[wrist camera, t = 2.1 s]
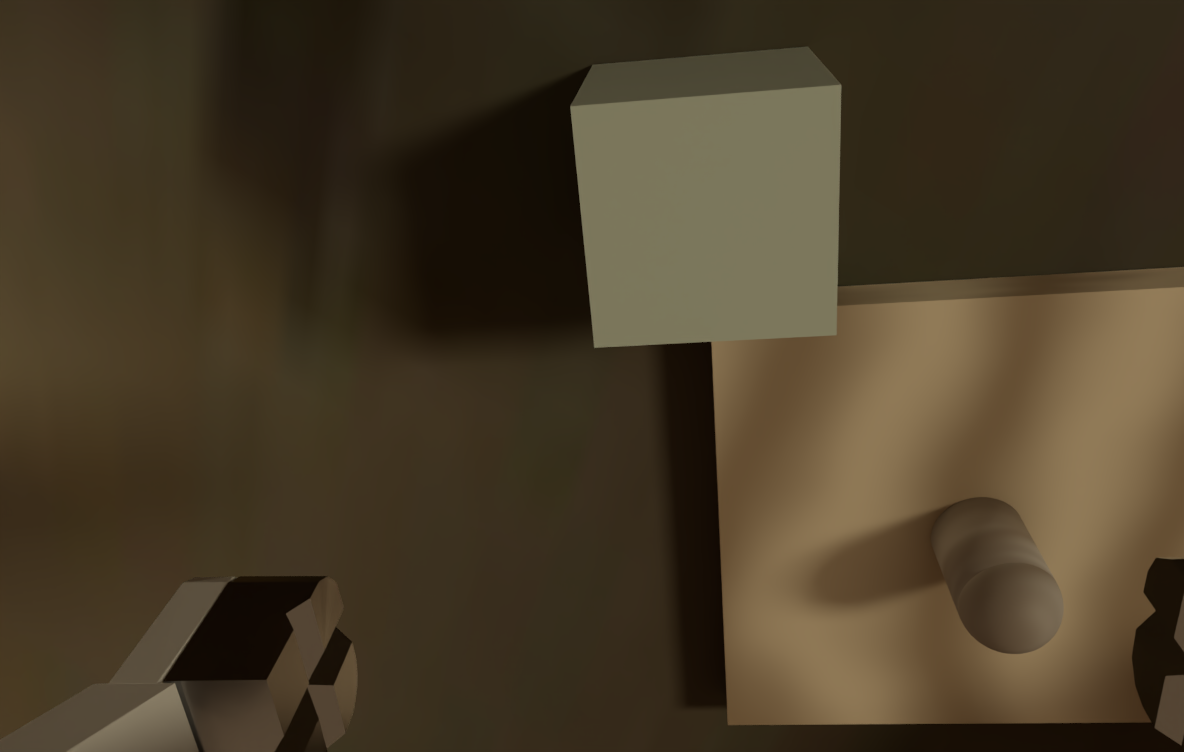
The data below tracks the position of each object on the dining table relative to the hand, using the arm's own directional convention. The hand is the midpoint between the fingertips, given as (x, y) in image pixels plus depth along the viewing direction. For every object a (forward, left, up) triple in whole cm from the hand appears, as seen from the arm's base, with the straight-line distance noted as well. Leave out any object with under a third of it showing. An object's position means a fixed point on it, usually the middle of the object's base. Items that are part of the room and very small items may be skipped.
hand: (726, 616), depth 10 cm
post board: (-8, +12, -20) cm, 24 cm away
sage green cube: (0, 0, -20) cm, 20 cm away
